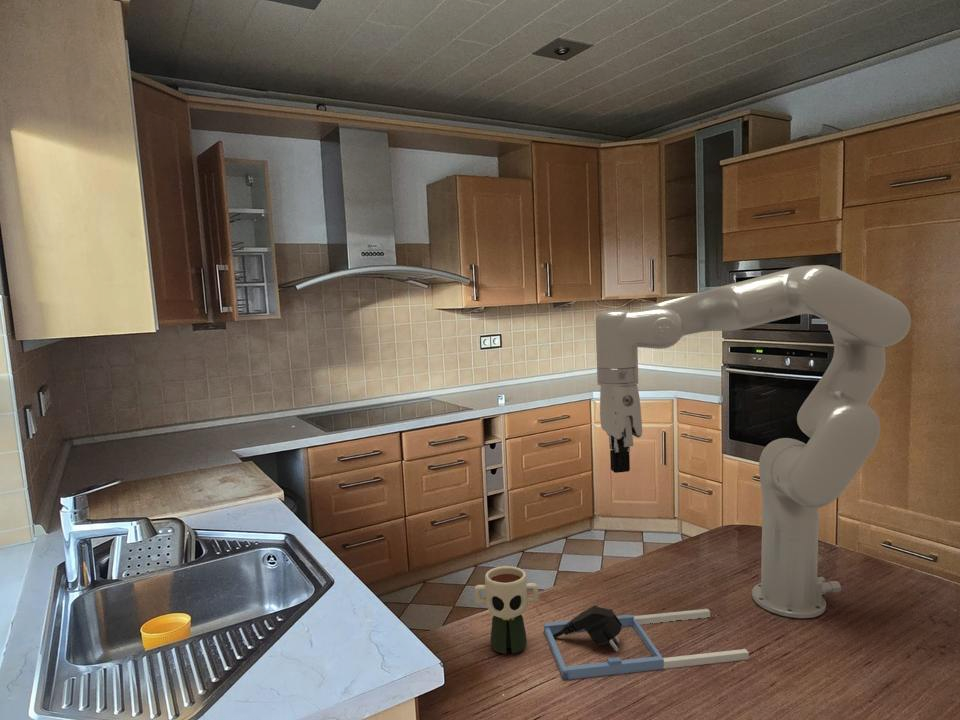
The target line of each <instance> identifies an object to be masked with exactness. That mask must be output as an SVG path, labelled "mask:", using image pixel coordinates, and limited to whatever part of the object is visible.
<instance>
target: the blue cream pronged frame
mask: <svg viewBox="0 0 960 720" xmlns="http://www.w3.org/2000/svg"><path fill="white" fill-rule="evenodd" d="M616 616H617V618H618V619H619V621H620V622H621V623H622V626H621V627H622V628H623V627H633V628H634V629H635V632H636V633H637V634H638V636H639V637H640V639H641V640H642V642H643V643H644V645H645V646H646V647H647V649H648V651H649V652H650V654H651V655H652V656H648V657H640V658H638V657H637V658H630V659H621V657H620V656H619V657H616V656H615V657H608V658H607V657H606V658H607V661H605V662H603V661H602V662H596V663H594V662H592V663H585V664H577V665H576V664H575V665H567V666H566V664H565V661H564V659H563V657H562V654H561V651H560V650H559V647H558V645H557V642H556V639H554V637H553V635H554V634H555V633H557V632H559V631H561V630H562V629H563V626H564V625H566V624H567V623H569V621H570V620H564V621H563V620H562V621H553V622H551V621H550V622H545V623H543V633H544V635H545V637H546V638H545V639H547V640H546V641H547V642H548V645H549V648H550V649H551V652H552V656H553V657H554V659H555V662H556V664H557V665H556V666H557V667H558V670H559V673H560V675H561V677H562V680H563V681H567V680H577V679H584V678H585V679H586V678H593V677H594V678H595V677H596V678H597V677H601V676H602V677H603V676H611V675H620V674H621V675H622V674H630V673H631V674H632V673H641V672H648V671H657V670H667V669H674V668H675V669H676V668H685V667H692V666H701V665H710V664H719V663H729V662H736V661H738V662H739V661H747V660H749V659H750V652H749V651H748V650H747V649H746V648H742V649H733V650H724V651H716V652H706V653H705V652H704V653H697V654H688V655H679V656H670V657H669V656H668V657H663V656H662V654H661V653H660V651H659V650H658V649H657V648H656V646H655V645H654V644H653V642H652V640H651V639H650V637H649V635H648V634H647V633H646V631H645V630H644V629H643V627H642V625H643V624H644V625H651V624H652V623H653V624H661V623H660V622H663V623H670V622H669V621H673V622H677V621H676V620H682V621H689V620H688V619H692V620H698V618H701V619H708V618H707V617H710V618H711V611H710V610H709V609H708V608H701V609H692V610H691V609H690V610H682V611H681V610H680V611H674V612H673V611H671V612H663V613H653V614H643V615H642V614H640V615H633V614H631V613H630V614H623V615H616ZM650 623H651V624H650ZM583 631H586V630H585V629H582V630H580V631H579V632H583ZM586 632H587V631H586Z"/></svg>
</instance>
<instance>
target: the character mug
mask: <svg viewBox="0 0 960 720" xmlns="http://www.w3.org/2000/svg"><path fill="white" fill-rule="evenodd" d="M528 590H532V593H531V594H532V595H531V596H528ZM481 591H485V597H481ZM538 600H539V586H538V583H536V582H530V583H529V582H528V583H527V573H526V571H525V570H524V569H522V568H520V567H516V566H512V565H511V566H509V565H502V566H496V567H493V568H490V570H488V571H486V573H485V574H484V584H477V585H475V586H474V601H475V604H479V605H482V604H484V605H485V604H486V607H487V610H488V612H489V614H491V615H492V619H491V620H492V621H491V627H490V629H491V630H490V645H491V648H492V649H493V650H494V651H496V653H497V652H498V653H501V654H507V649H511V654H515V653H519V652H522V651H523V650H525V648H526V646H527V642H528V639H527V633H526V627H525V622H524V617H523V615H522V614H524V613H525V612H526V609H527V607H528V605H529V604H528V603H535V602H538Z"/></svg>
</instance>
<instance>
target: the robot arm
mask: <svg viewBox="0 0 960 720" xmlns="http://www.w3.org/2000/svg"><path fill="white" fill-rule="evenodd" d="M801 315H814V316H816V317H818V318H820V319H822V320H823V321H825V322H827V323H826V324H827V327H828V329H829V332H830V334H831V335H830V336H832V341H833V349H834V350H833V357H832V359H831V362H830V363H829V365H828V367H827V369H826V370H825V372H824V373H823V375H822V377H820V379H819V381H818V382H817V383H816V385H815V387H814V388H813V389H812V391H810V393H809V395H808V396H807V398H806V399H805V400H804V402H803V403H802V405H801V406H800V408H799V410H798V412H797V415H796V422H797V426H798V427H799V429H800V430H801V432H802V433H804V434H805V435H806V436H807V437H808V438H809V439H808V441H807V443H805V442H804V441H800V440H799V439H795V438H790V437H781V438H777V439H774V440H771V442H769V443H768V444H767V445H766V446H765V447H764V448H763V449H762V452H761V454H760V456H759V461H758V466H759V467H758V471H759V473H758V474H759V480H760V482H759V483H760V489H761V499H762V500H761V502H762V503H761V506H762V507H761V511H762V514H761V515H762V517H761V566H760V567H761V568H760V575H761V576H760V583H758V584H757V583H756V584H755V585H754V586H753V587H752V589H751V595H752V599H753V600H754V602H755V603H756V604H757V606H760V607H761V608H762V609H764V610H766V611H768V612H770V613H773V614H774V615H778V616H781V617H782V616H783V617H787V618H793V619H811V618H816V617H819V616H821V615H822V614H824V613H825V611H826V608H827V603H826V600H825V598H824V597H823V595H826V594H827V593H837V592H841V590H842V586H841V584H840V582H839V581H838V580H832V581H830V580H829V581H826V579H825V578H824V576H819V577H818V558H819V524H820V513H819V508H822V507H826V506H827V505H830V504H831V503H833V502H834V501H835V500H837V498H839V497H840V496H841V494H842V493H844V492H845V490H846V488H847V487H848V486H849V484H850V483H851V482H852V480H853V479H854V477H855V476H856V475H857V473H858V472H859V471H860V470H861V468H862V467H863V465H864V464H865V462H866V461H867V460H868V459H869V457H870V456H871V454H872V452H873V451H874V450H875V448H876V447H877V445H878V442H879V440H880V439H879V438H880V435H881V422H880V419H879V416H878V415H877V413H876V412H875V410H874V409H873V408H872V407H871V406H869V405H868V403H869V402H870V400H871V399H872V397H873V395H874V394H875V392H876V391H877V389H878V387H879V386H880V384H881V382H882V380H883V378H884V376H885V372H886V364H887V362H886V361H887V359H886V358H887V357H886V349H885V348H887V347H890V346H891V347H892V346H893V345H896V344H898V343H899V342H901V341H902V340H903V339H905V337H907V335H908V333H909V332H910V329H911V325H912V318H911V314H910V311H909V309H908V308H907V306H906V305H905V304H904V303H903V302H902V301H900V300H899V299H898V298H896V297H894V296H893V295H890V294H888V293H887V292H884V291H883V290H880V289H878V288H877V287H874V286H873V285H871V284H869V283H866V282H864V281H862V280H860V279H859V278H857V277H855V276H853V275H851V274H849V273H846V272H845V271H842V270H841V269H839V268H836V267H833V266H831V265H825V264H816V265H815V264H814V265H804V266H796V267H790V268H787V269H784V270H780V271H775V272H772V273H768V274H764V275H762V276H757V277H754V278H749V279H746V280H742V281H736V282H734V283H729V284H726V285H722V286H718V287H714V288H712V289H711V288H710V289H709V290H705V291H701V292H698V293H693V294H689V295H685V296H682V297H678V298H673V299H670V300H665V301H663V302H658V303H655V304H650V305H647V306H644V307H643V308H641V309H640V310H638V311H636V310H635V311H633V310H631V309H610V310H602V311H599V312H598V313H597V314H596V316H595V345H596V346H595V351H596V353H595V354H596V375H597V376H596V378H597V379H596V381H597V382H596V383H597V384H596V385H598V386H600V389H599V390H600V392H599V416H600V418H599V419H600V426H601V429H602V430H603V431H604V432H606V435H607V436H608V444H609V449H610V450H609V455H610V470H611V471H612V472H613V473H615V474H616V473H617V474H618V473H625V472H626V473H627V472H630V470H631V467H630V466H631V465H630V452H631V447H634V438H633V437H635V438H641V437H642V436H643V423H642V421H643V420H642V408H641V400H640V398H641V397H640V393H639V387H638V384H639V356H638V355H639V353H638V352H639V351H638V350H639V349H638V348H644V349H646V348H647V349H656V350H663V349H667V348H671V347H673V346H675V345H676V344H677V343H679V341H680V340H681V338H682V337H684V336H687V335H688V336H689V335H693V334H698V333H703V332H717V331H718V332H732V331H738V330H744V329H748V328H753V327H756V326H760V325H764V324H769V323H772V322H775V321H779V320H783V319H787V318H791V317H795V316H796V317H797V316H801Z"/></svg>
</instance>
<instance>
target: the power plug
mask: <svg viewBox="0 0 960 720" xmlns="http://www.w3.org/2000/svg"><path fill="white" fill-rule="evenodd" d="M617 616H618V615H616V614H615V612H614V611H613V609H610V608H609V609H608V608H605V607H604V608H603V607H600V606H599V605H593V606H591V607H590V608H588V609H586V610H584V611H582V612H580V613H579V614H578V615H576V616H574V618H572V619H571V620H568V621H569V623H567V624H566V625H564V626H563V629H562V630H561V631H559V632H557V633H555V634H552V635H553V637H554V640H556V638H559V637H561V636H562V635H565V636H568V635H569V634H570V635H571V634H574V633H577V632H581V631H580V630H582V629H585V630H586V633H587V634H588V635H589V637H590V638H591V640H592V641H593V642H594V644H595V645H597V646H602V645H603V644H609V645H610V647H611V648H612V649H613V650H614V652H615V653H618V652H619V650H620V649H619V647H618V645H617V644H620V642H621V641H620V639H619V637H618V635H619V633H620V632H621V631H622V629H623V627H621V626H622V623H621V622H620V621H619V619H618V618H617Z"/></svg>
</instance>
